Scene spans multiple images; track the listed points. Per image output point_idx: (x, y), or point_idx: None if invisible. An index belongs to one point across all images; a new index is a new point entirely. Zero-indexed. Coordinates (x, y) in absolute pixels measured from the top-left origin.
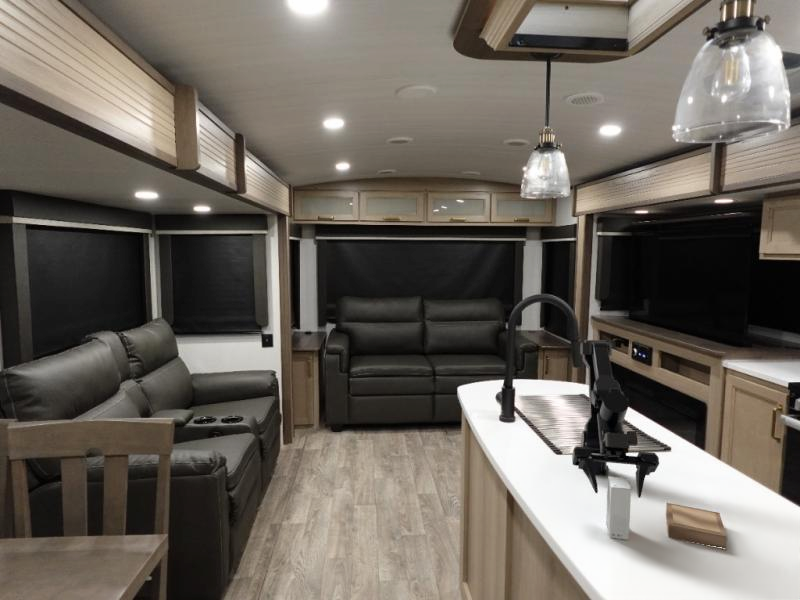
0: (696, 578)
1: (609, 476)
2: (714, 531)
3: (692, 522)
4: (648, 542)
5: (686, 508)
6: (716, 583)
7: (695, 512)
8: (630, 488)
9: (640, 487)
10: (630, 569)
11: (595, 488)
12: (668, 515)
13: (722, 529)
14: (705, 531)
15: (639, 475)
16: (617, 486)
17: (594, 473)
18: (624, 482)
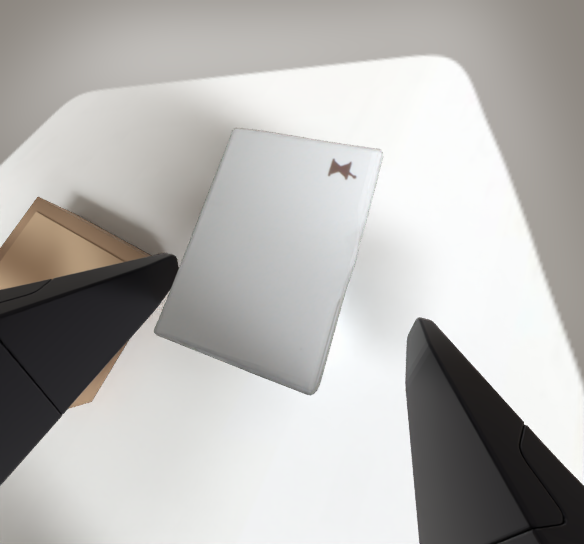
0: (216, 115)
1: (307, 375)
2: (46, 218)
3: (66, 264)
4: None
5: None
6: (187, 104)
7: None
8: (231, 136)
9: (121, 267)
10: (351, 132)
11: (440, 330)
12: None
13: (17, 231)
14: (69, 220)
15: (14, 309)
16: (324, 159)
17: (496, 450)
18: (223, 234)
